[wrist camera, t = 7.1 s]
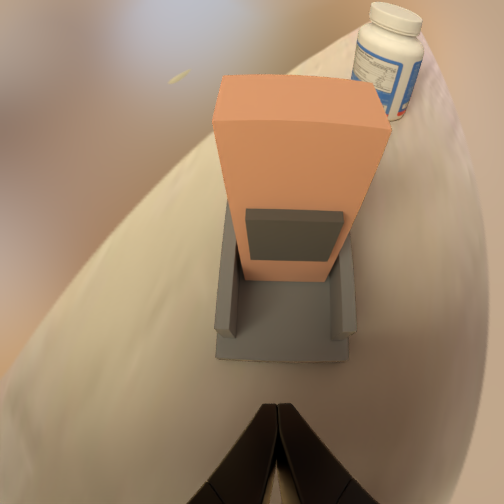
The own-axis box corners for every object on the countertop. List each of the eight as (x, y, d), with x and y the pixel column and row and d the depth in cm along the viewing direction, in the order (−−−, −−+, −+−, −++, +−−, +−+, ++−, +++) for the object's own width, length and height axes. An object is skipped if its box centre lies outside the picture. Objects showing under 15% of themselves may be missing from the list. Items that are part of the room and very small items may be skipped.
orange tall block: (324, 289, 15) (396, 142, 6) (244, 287, 15) (209, 133, 6) (322, 246, 16) (372, 82, 7) (247, 244, 16) (222, 75, 7)
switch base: (343, 361, 14) (386, 346, 9) (218, 359, 15) (189, 343, 9) (334, 197, 18) (354, 127, 13) (233, 195, 19) (220, 123, 13)
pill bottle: (384, 87, 24) (405, 3, 15) (414, 121, 22) (447, 31, 13) (336, 88, 24) (349, -5, 15) (364, 125, 21) (390, 19, 13)
